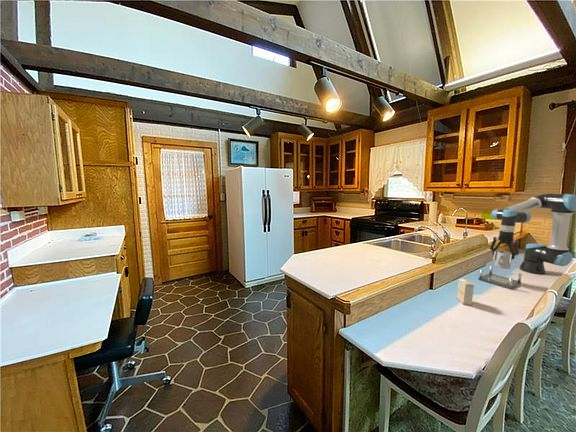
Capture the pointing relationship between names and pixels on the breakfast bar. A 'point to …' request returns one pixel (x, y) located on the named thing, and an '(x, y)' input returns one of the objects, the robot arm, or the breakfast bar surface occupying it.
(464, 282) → the supplement box
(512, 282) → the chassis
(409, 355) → the breakfast bar surface
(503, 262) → the mug
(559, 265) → the robot arm
